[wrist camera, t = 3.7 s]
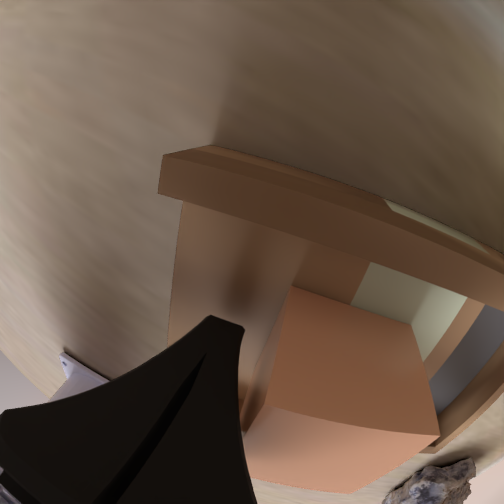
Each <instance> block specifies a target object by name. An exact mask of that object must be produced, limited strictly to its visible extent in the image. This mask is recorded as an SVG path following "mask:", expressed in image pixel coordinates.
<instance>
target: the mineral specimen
mask: <svg viewBox="0 0 504 504" xmlns="http://www.w3.org/2000/svg"><path fill="white" fill-rule="evenodd" d="M475 476H476V467H475V464H474V462H473V460H472V458H471V457H470V458H469V459H467V460H463V461H460V462H458V463H455V464H453V465H451V466H449V467H444V468H438V467H435V466H432V465H431V466H426V467H425V468H424V470H423V471H419V472H415V473H414V474H413V476H412V478H411V479H409V481H407V482H405V484H404V485H403V487H401V488H399V489H397V490H395V491H392V492H391V493H389V495H388V496H386V499H384V500H383V502H382V504H463V501H464V500H466V499H467V497H468V495H470V494H471V490H470V485H471V484H470V483H468V482H469V480H470V479H472V478H473V477H475Z"/></svg>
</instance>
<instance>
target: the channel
mask: <svg viewBox="0 0 504 504" xmlns="http://www.w3.org/2000/svg"><path fill="white" fill-rule="evenodd" d="M158 194H161V195H165V196H168V197H172V198H175V199H178V200H182V201H183V204H182V211H181V218H180V225H179V232H178V239H177V247H176V255H175V264H174V273H173V282H172V292H171V303H170V315H169V328H168V342H167V348H168V347H169V346H171V345H172V344H174V343H175V342H176V341H178V340H179V339H181V338H182V337H183V336H184V335H186V334H187V333H188V332H189V331H191V330H192V329H193V328H194V327H195V326H197V325H198V324H199V323H200V322H201V321H202V320H203V319H204V318H205V317H207V316H209V315H213V316H216V317H219V318H221V319H224V320H227V321H230V322H233V323H235V324H238V325H241V326H243V327H244V329H245V333H244V336H243V339H242V342H241V348H240V355H239V367H238V399H239V415H240V413H241V410H242V407H243V404H244V400H245V397H246V394H247V391H248V388H249V384H250V381H251V378H252V374H253V372H254V370H255V367H256V365H257V363H258V361H259V358H260V356H261V354H262V352H263V349H264V347H265V345H266V343H267V340H268V338H269V336H270V333H271V331H272V329H273V327H274V324H275V322H276V320H277V317H278V315H279V312H280V310H281V308H282V305H283V303H284V300H285V298H286V296H287V293H288V291H289V288H290V286H294V287H297V288H300V289H303V290H306V291H309V292H312V293H315V294H318V295H321V296H323V297H326V298H329V299H332V300H335V301H338V302H341V303H344V304H347V305H350V306H353V307H356V308H359V309H363V310H366V311H369V312H372V313H375V314H378V315H381V316H384V317H387V318H390V319H393V320H396V321H399V322H403V323H406V324H409V325H411V326H412V329H413V332H414V335H415V338H416V341H417V344H418V348H419V351H420V354H421V357H422V361H423V364H424V368H425V371H426V375H427V379H428V382H429V386H430V390H431V394H432V398H433V402H434V407H435V411H436V416H437V420H438V425H439V430H440V435H441V436H440V437H438V438H437V439H436V440H435V441H433V442H432V443H431V444H429V445H428V446H427V447H425V448H424V449H423V450H421V451H420V452H419V453H431V454H435V453H436V452H438V451H439V450H440V449H442V448H443V447H444V446H445V445H447V444H448V443H449V442H451V441H452V440H453V439H454V438H455V437H457V436H458V435H459V434H460V433H461V432H463V431H464V430H465V429H466V428H467V427H468V426H470V425H471V424H472V423H473V422H474V421H475V420H476V419H477V418H478V417H479V416H480V415H481V414H483V413H484V412H485V411H486V410H487V409H488V408H489V407H490V406H491V405H492V404H493V403H494V402H495V401H496V400H497V399H498V398H499V396H500V395H501V394H502V393H503V392H504V254H502V253H500V252H498V251H497V250H495V249H493V248H491V247H489V246H487V245H485V244H483V243H481V242H479V241H478V240H476V239H474V238H472V237H470V236H468V235H466V234H464V233H462V232H459V231H457V230H455V229H453V228H451V227H449V226H447V225H445V224H443V223H440V222H438V221H436V220H434V219H432V218H429V217H427V216H425V215H422V214H420V213H418V212H416V211H413V210H411V209H408V208H406V207H404V206H401V205H399V204H396V203H394V202H391V201H389V200H386V199H384V198H381V197H379V196H376V195H374V194H371V193H368V192H366V191H363V190H360V189H357V188H355V187H352V186H349V185H346V184H344V183H341V182H338V181H335V180H332V179H329V178H326V177H323V176H320V175H317V174H314V173H311V172H308V171H305V170H301V169H298V168H295V167H292V166H288V165H285V164H282V163H278V162H275V161H271V160H268V159H264V158H260V157H257V156H253V155H249V154H246V153H242V152H238V151H234V150H230V149H226V148H222V147H218V146H213V145H208V146H203V147H198V148H193V149H188V150H184V151H179V152H175V153H170V154H166V155H163V159H162V165H161V172H160V179H159V186H158Z"/></svg>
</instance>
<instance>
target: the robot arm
mask: <svg viewBox="0 0 504 504" xmlns="http://www.w3.org/2000/svg"><path fill="white" fill-rule="evenodd" d="M244 333H245V329H244V327H243V326H241V325H238V324H235V323H233V322H230V321H227V320H224V319H221V318H219V317H216V316H213V315H209V316H207V317H205V318H204V319H203V320H202V321H201V322H200V323H199V324H198V325H197V326H195V327H194V328H193V329H192V330H191V331H189V332H188V333H187V334H186V335H184V336H183V337H182V338H181V339H179V340H178V341H176V342H175V343H174V344H172V345H171V346H169V347H168V348H167V349H165V350H164V351H162V352H161V353H159V354H158V355H156V356H155V357H153V358H151V359H150V360H148V361H147V362H145V363H143V364H142V365H140V366H138V367H137V368H135V369H133V370H131V371H129V372H128V373H126V374H124V375H122V376H120V377H118V378H116V379H114V380H111V381H109V380H107V379H105V378H103V377H102V376H100V375H98V374H97V373H95V372H93V371H92V370H90V369H88V368H87V367H85V366H84V365H82V364H80V363H79V362H77V361H76V360H74V359H73V358H71V357H70V356H68V355H67V354H65V353H63V352H62V353H61V354H60V355H59V358H60V361H61V363H62V366H63V369H64V372H65V374H66V377H67V380H66V381H65V383H64V384H63V385H62V386H61V387H60V388H59V389H58V391H57V392H56V393H55V394H54V395H53V396H52V398H51V399H50V400H49V401H48V403H44V404H39V405H34V406H28V407H21V408H15V409H7V410H5V411H4V412H3V413H2V414H1V415H0V504H257V500H256V497H255V494H254V491H253V487H252V483H251V479H250V475H249V470H248V466H247V462H246V457H245V452H244V446H243V440H242V433H241V425H240V415H239V399H238V367H239V355H240V348H241V342H242V339H243V336H244Z"/></svg>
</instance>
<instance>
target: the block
mask: <svg viewBox="0 0 504 504" xmlns="http://www.w3.org/2000/svg"><path fill="white" fill-rule="evenodd" d="M240 425H241V433H242V440H243V446H244V452H245V457H246V462H247V466H248V470H249V475H250V477H251V478H255V479H259V480H263V481H268V482H272V483H277V484H282V485H287V486H292V487H298V488H304V489H310V490H317V491H325V492H334V493H345V494H351V493H353V492H355V491H357V490H358V489H360V488H362V487H364V486H366V485H368V484H370V483H371V482H373V481H375V480H377V479H378V478H380V477H382V476H383V475H385V474H387V473H388V472H390V471H392V470H393V469H395V468H396V467H398V466H399V465H401V464H403V463H404V462H406V461H407V460H409V459H410V458H411V457H413V456H414V455H416V454H417V453H419V452H420V451H421V450H423V449H424V448H425V447H427V446H428V445H429V444H431V443H432V442H433V441H435V440H436V439H437V438H438V437H440V436H441V435H440V430H439V425H438V420H437V416H436V411H435V407H434V402H433V398H432V394H431V390H430V386H429V382H428V379H427V375H426V371H425V368H424V364H423V361H422V357H421V354H420V351H419V348H418V344H417V341H416V338H415V335H414V332H413V329H412V326H411V325H409V324H406V323H403V322H399V321H396V320H393V319H390V318H387V317H384V316H381V315H378V314H375V313H372V312H369V311H366V310H363V309H359V308H356V307H353V306H350V305H347V304H344V303H341V302H338V301H335V300H332V299H329V298H326V297H323V296H321V295H318V294H315V293H312V292H309V291H306V290H303V289H300V288H297V287H294V286H290V288H289V291H288V293H287V296H286V298H285V300H284V303H283V305H282V308H281V310H280V312H279V315H278V317H277V320H276V322H275V324H274V327H273V329H272V331H271V333H270V336H269V338H268V340H267V343H266V345H265V347H264V349H263V352H262V354H261V356H260V358H259V361H258V363H257V365H256V367H255V370H254V372H253V374H252V378H251V381H250V384H249V388H248V391H247V394H246V397H245V400H244V404H243V407H242V410H241V413H240Z"/></svg>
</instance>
